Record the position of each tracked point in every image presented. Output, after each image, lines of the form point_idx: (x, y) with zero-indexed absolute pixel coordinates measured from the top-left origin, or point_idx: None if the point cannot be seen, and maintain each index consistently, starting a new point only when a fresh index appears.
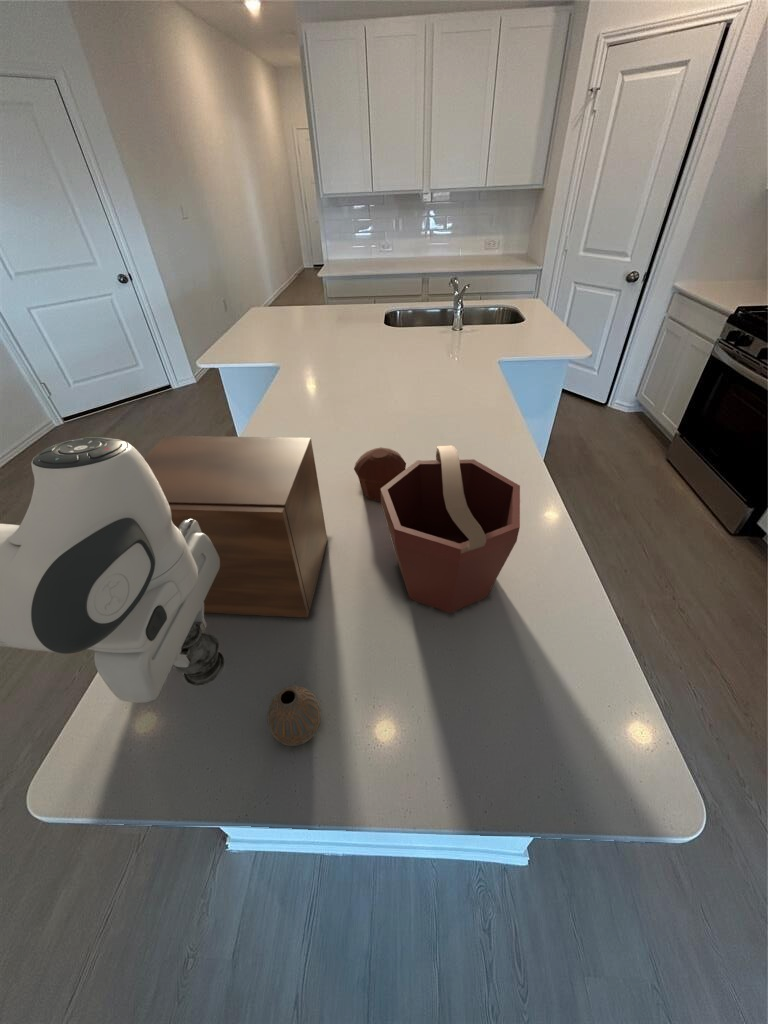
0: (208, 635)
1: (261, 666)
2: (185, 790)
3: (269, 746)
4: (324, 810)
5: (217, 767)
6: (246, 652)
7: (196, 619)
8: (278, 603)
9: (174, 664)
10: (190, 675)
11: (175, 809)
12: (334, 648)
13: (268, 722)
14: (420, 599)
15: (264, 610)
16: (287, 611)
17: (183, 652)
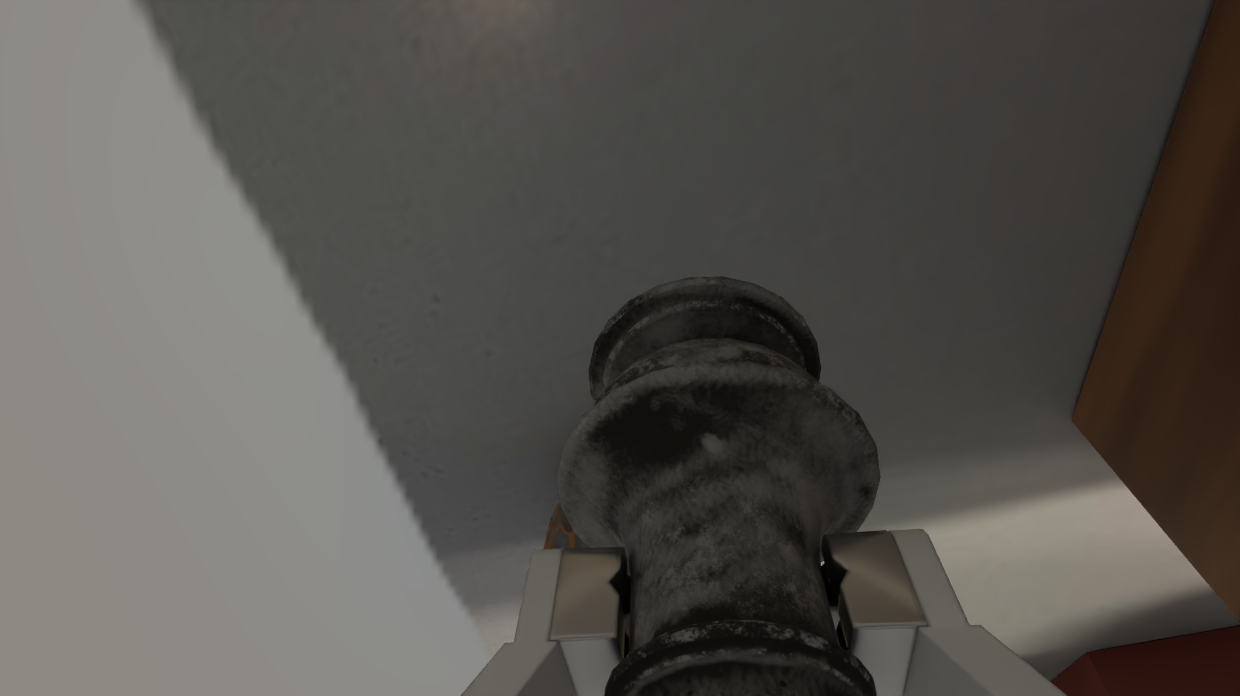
0: (855, 516)
1: (837, 325)
2: (349, 260)
3: (557, 438)
4: (461, 573)
5: (450, 325)
6: (911, 242)
7: (929, 691)
8: (1169, 389)
9: (531, 567)
10: (628, 357)
11: (291, 257)
12: (909, 517)
13: (572, 536)
14: (1070, 691)
15: (1155, 278)
16: (1117, 378)
17: (595, 685)
